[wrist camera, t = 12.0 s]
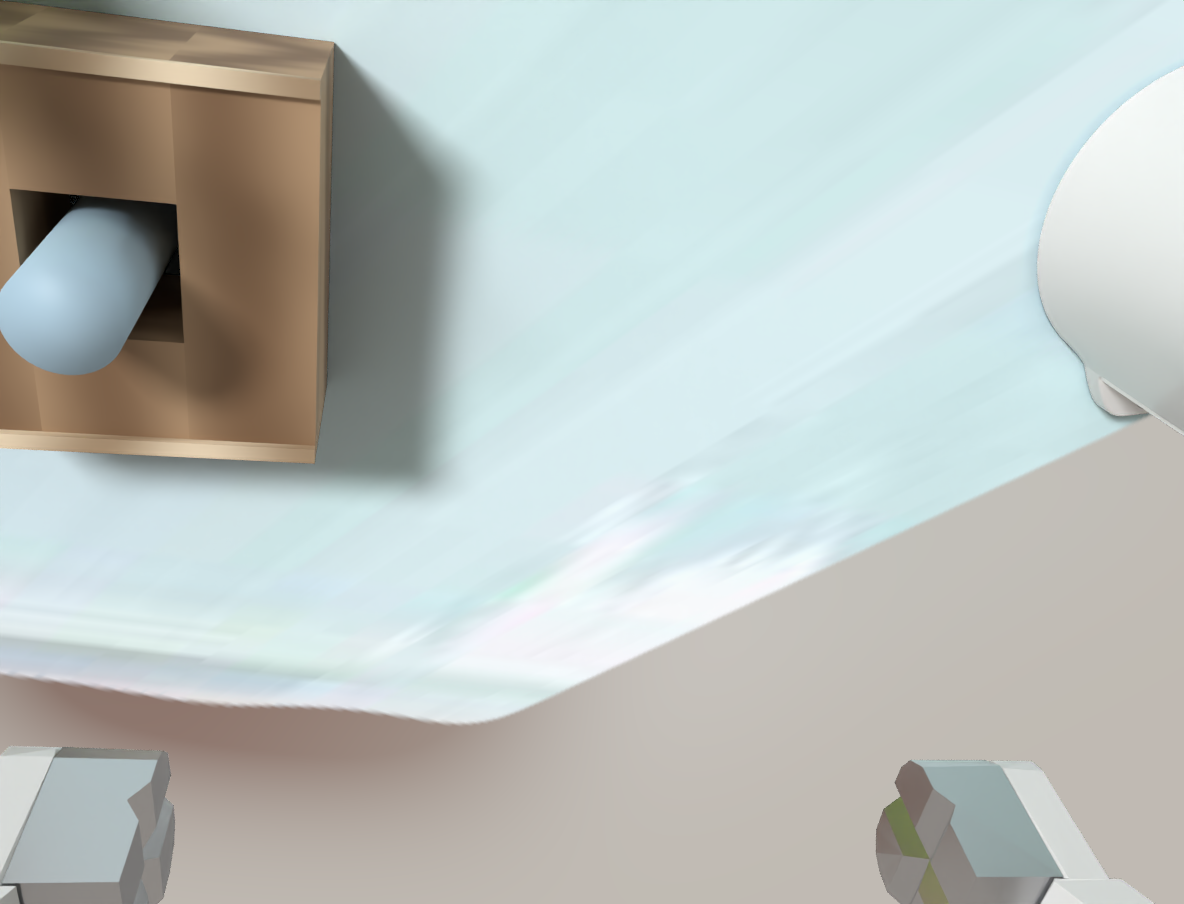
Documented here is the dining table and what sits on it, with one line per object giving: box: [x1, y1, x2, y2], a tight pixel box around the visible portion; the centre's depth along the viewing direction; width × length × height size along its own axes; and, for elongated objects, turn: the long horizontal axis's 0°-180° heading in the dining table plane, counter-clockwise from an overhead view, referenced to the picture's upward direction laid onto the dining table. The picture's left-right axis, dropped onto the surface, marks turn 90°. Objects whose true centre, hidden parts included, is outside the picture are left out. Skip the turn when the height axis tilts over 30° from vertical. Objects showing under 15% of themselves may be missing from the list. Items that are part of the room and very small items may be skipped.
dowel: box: [0, 195, 179, 375], centre depth 36 cm, size 4×4×10 cm
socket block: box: [0, 0, 334, 464], centre depth 37 cm, size 14×14×6 cm
